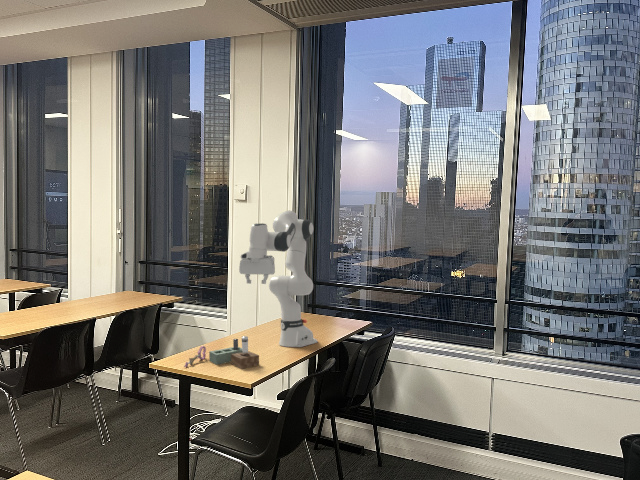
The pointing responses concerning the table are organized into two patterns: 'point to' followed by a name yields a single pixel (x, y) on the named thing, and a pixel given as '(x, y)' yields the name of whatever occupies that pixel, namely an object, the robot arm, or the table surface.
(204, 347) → the decorative key
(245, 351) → the metal cylinder rod
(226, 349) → the drill rack
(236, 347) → the dark grey peg
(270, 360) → the table surface
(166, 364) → the table surface
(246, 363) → the socket block
